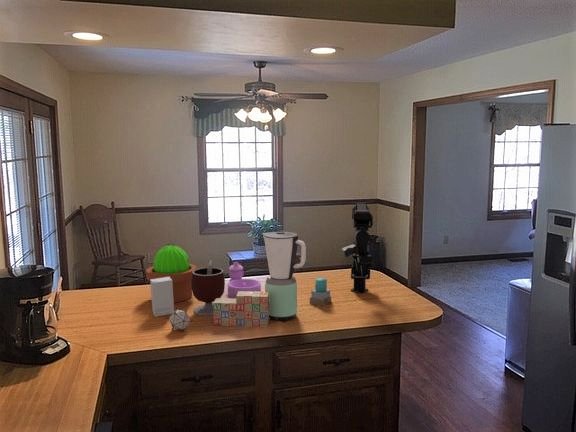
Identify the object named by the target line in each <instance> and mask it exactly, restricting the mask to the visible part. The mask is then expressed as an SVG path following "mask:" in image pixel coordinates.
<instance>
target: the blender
mask: <svg viewBox="0 0 576 432" xmlns="http://www.w3.org/2000/svg"><path fill="white" fill-rule="evenodd" d="M261 234H262V237H263V240H264V246H265V247H264V248H265V254H266V259H267V266H268V272H269V275H268V276H267V277H266V280H265V284H264V292H269V320H271V319H272V320H273V319H274V320H282V321H283V322H289V319H292V318H294V317H295V316H296V315H297V313H298V283H297V279H296V277H295V276H294V270H295V269H301V268H302V267H304V266H305V263H306V258H307V248H306V246H307V245H306V243H305V242H304V240H300V239H299V235H298V233H296V232H291V231H272V232H271V231H270V232H262V233H261ZM299 245H300V247H301V249H300V250H301V251H300V262H299V263H296V261H297V254H298V253H297V251H298V246H299Z"/></svg>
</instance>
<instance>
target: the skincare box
mask: <svg viewBox="0 0 576 432" xmlns="http://www.w3.org/2000/svg"><path fill="white" fill-rule="evenodd" d="M150 295H151V297H150V298H151V311H152V314H153V316H154V317H161V316H162V317H163V316H168V315H172V314H173V313H174V312H175V304H174V303H175V302H174V301H173V284H172V279H171V278H170V277H163V278H157V279H150Z"/></svg>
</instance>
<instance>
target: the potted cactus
mask: <svg viewBox="0 0 576 432" xmlns="http://www.w3.org/2000/svg"><path fill="white" fill-rule="evenodd" d="M189 259H190V258H189V255H188V253H187V251H185V250H184V249H183V248H182V247H180V246H178V245H177V244H166V245H164V246H163V247H161V248H160V249H158V251H157V252H156V254H155V255H154V259H153V262H152V266H151V267H148V268H147V269H146V270H145V274H146V276H145V277H146V280H147V281H150V279H157V278H163V277H170V278H171V279H172V284H173V301H174V303H179V302H184V301H186V300H189V299H191V297H192V296H193V292H192V287H191V279H192V272H193V271H194V270H196V269H198V268H197V265H195V264H192V263H190V261H189Z"/></svg>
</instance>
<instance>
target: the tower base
mask: <svg viewBox="0 0 576 432" xmlns="http://www.w3.org/2000/svg"><path fill="white" fill-rule="evenodd" d="M331 303H332V296H331V295H330V297H328V298H326V299H323V300H321V299H317V298H312V297H311V296H310V297H309V304H311V305H315V306H320V307H324V306H327V305H328V304H331Z"/></svg>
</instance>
